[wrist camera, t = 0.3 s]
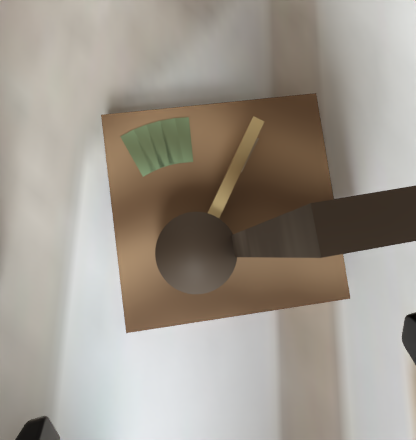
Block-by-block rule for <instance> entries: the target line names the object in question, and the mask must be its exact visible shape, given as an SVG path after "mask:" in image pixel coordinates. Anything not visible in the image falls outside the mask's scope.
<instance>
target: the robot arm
mask: <svg viewBox="0 0 416 440" xmlns="http://www.w3.org/2000/svg"><path fill="white" fill-rule="evenodd" d="M402 341H403V344H404V346H405V348H406V350H407V352H408V353H409V355H410V356H411V358H412V360H413V361H414V363H415V365H416V313H412V314H409V315H407V316H406V317H405V320H404V326H403V332H402ZM15 440H60V437H59V435H58V433H57V431H56V429H55V428H54V426H53V424H52V422H51V421H50V419H49V418H48V417H46V416H43V417H39V418H35V419H32V420H30V421H28V422H27V423H26V424H25V425H24V427H23V429H22V430H21V432H20V433H19V435H18V436H17V438H16V439H15Z"/></svg>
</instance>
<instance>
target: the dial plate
mask: <svg viewBox="0 0 416 440" xmlns="http://www.w3.org/2000/svg"><path fill="white" fill-rule="evenodd" d="M253 116H254V117H256V118H258V119H260V120H262V121H264V124H263V126H262V128H261V130H260V132H259V134H258V136H257V139H256V141H255V143H254V145H253V147H252V149H251V151H250V154H249V156H248V158H247V160H246V162H245V164H244V166H243V169H242V171H241V173H240V175H239V177H238V179H237V181H236V184H235V186H234V188H233V190H232V192H231V194H230V196H229V199H228V201H227V203H226V205H225V207H224V209H223V211H222V213H221V216H220V218H219V219H221V220H222V221H223V222H224V223H225V224H226V225H227V226H228V227H229V229H230V230H231V231H232V233H233V234H236V233H238V232H241V231H243V230H245V229H248V228H250V227H253V226H255V225H258V224H260V223H263V222H265V221H268V220H270V219H273V218H275V217H278V216H280V215H283V214H285V213H288V212H290V211H292V210H295V209H297V208H300V207H302V206H305V205H307V204H310V203H315V202H321V201H327V200H333V199H334V198H333V192H332V186H331V180H330V174H329V168H328V162H327V156H326V150H325V144H324V138H323V132H322V126H321V120H320V114H319V108H318V102H317V96H316V93H315V94H305V95H295V96H285V97H275V98H265V99H255V100H245V101H235V102H225V103H215V104H205V105H195V106H185V107H175V108H165V109H155V110H145V111H135V112H125V113H116V114H106V115H101V117H102V126H103V135H104V143H105V152H106V161H107V169H108V178H109V187H110V195H111V204H112V213H113V221H114V230H115V239H116V247H117V256H118V265H119V274H120V282H121V291H122V300H123V308H124V317H125V326H126V333H129V332H136V331H142V330H149V329H155V328H162V327H168V326H175V325H181V324H187V323H194V322H200V321H207V320H213V319H220V318H226V317H233V316H239V315H246V314H252V313H259V312H265V311H272V310H278V309H285V308H291V307H298V306H304V305H311V304H317V303H324V302H330V301H337V300H343V299H350V294H349V288H348V282H347V276H346V270H345V264H344V258H343V254H340V255H335V256H329V257H323V258H272V257H237V262H236V266H235V268H234V271H233V273H232V274H231V276H230V277H229V279H228V280H227V281H226V282H225V283H224V284H223V285H222V286H220V287H219V288H217V289H216V290H214V291H211V292H209V293H205V294H188V293H184V292H181V291H179V290H177V289H175V288H174V287H172V286H171V285H170V284H168V283H167V282H166V280H165V279H164V278H163V277H162V275H161V273H160V271H159V269H158V267H157V263H156V258H155V248H156V243H157V239H158V237H159V235H160V233H161V231H162V230H163V228H164V227H165V226H166V225H167V224H168V223H169V222H170V221H171V220H172V219H174V218H175V217H177V216H179V215H182V214H184V213H188V212H205V213H208V211H209V208H210V206H211V204H212V202H213V200H214V198H215V196H216V194H217V192H218V189H219V187H220V185H221V183H222V181H223V179H224V177H225V175H226V173H227V170H228V168H229V166H230V164H231V162H232V160H233V158H234V156H235V153H236V151H237V149H238V147H239V145H240V143H241V141H242V139H243V137H244V134H245V132H246V130H247V128H248V126H249V124H250V122H251V120H252V118H253Z"/></svg>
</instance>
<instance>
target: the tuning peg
mask: <svg viewBox="0 0 416 440" xmlns="http://www.w3.org/2000/svg"><path fill="white" fill-rule="evenodd" d="M263 124H264V121H262V120H260V119H258V118H256V117H254V116H253V118H252V120H251V122H250V124H249V126H248V128H247V130H246V132H245V134H244V137H243V139H242V141H241V143H240V145H239V147H238V149H237V151H236V153H235V156H234V158H233V160H232V162H231V164H230V166H229V168H228V170H227V173H226V175H225V177H224V179H223V181H222V183H221V185H220V187H219V189H218V192H217V194H216V196H215V198H214V200H213V202H212V204H211V206H210V208H209V211H208V213H205V212H188V213H184V214H182V215H179V216H177V217H175V218H174V219H172V220H171V221H170V222H169V223H168V224H167V225H166V226H165V227H164V228H163V230H162V231H161V233H160V235H159V237H158V239H157V243H156V248H155V258H156V263H157V267H158V269H159V271H160V273H161V275H162V277H163V278H164V279H165V280H166V282H167V283H168V284H170V285H171V286H172V287H174V288H175V289H177V290H179V291H181V292H184V293H188V294H205V293H209V292H211V291H214V290H216V289H217V288H219V287H220V286H222V285H223V284H224V283H225V282H226V281H227V280H228V279H229V277H230V276H231V274H232V273H233V271H234V268H235V266H236V262H237V257H272V258H323V257H329V256H335V255H340V254H346V253H351V252H357V251H362V250H368V249H373V248H379V247H384V246H390V245H395V244H401V243H406V242H412V241H416V186H411V187H405V188H399V189H393V190H387V191H381V192H375V193H369V194H363V195H357V196H351V197H345V198H339V199H333V200H327V201H321V202H315V203H310V204H307V205H305V206H302V207H300V208H297V209H295V210H292V211H290V212H288V213H285V214H283V215H280V216H278V217H275V218H273V219H270V220H268V221H265V222H263V223H260V224H258V225H255V226H253V227H250V228H248V229H245V230H243V231H241V232H238V233H236V234H233V233H232V231H231V230H230V229H229V227H228V226H227V225H226V224H225V223H224V222H223V221H222V220H221V219H219V218H220V216H221V213H222V211H223V209H224V207H225V205H226V203H227V201H228V199H229V196H230V194H231V192H232V190H233V188H234V186H235V184H236V181H237V179H238V177H239V175H240V173H241V171H242V169H243V166H244V164H245V162H246V160H247V158H248V156H249V154H250V151H251V149H252V147H253V145H254V143H255V141H256V139H257V136H258V134H259V132H260V130H261V128H262V126H263Z"/></svg>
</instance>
